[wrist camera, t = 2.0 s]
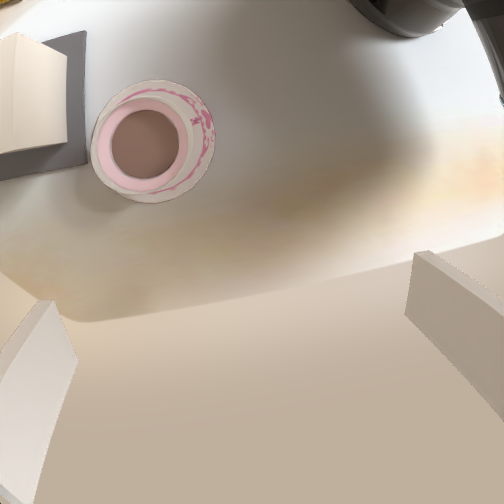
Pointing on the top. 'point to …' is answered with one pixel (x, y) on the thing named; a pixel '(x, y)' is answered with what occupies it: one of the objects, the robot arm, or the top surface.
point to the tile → (31, 94)
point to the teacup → (153, 141)
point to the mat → (75, 117)
